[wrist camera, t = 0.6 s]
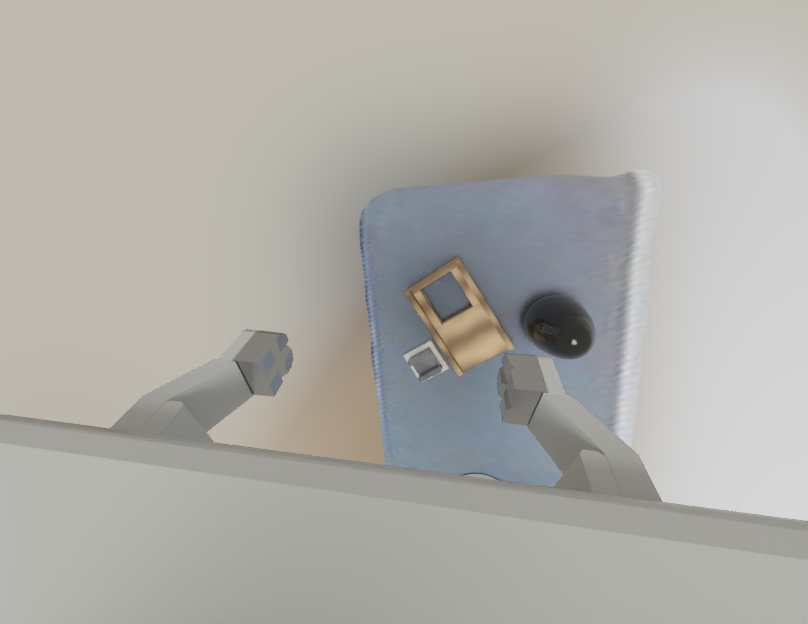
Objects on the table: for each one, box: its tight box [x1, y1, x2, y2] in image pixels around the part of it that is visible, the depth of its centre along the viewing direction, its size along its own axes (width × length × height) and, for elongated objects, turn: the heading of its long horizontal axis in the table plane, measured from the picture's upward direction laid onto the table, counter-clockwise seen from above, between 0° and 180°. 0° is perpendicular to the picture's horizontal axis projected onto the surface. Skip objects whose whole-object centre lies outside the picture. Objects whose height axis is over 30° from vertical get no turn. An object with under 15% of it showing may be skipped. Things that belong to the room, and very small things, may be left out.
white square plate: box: [404, 339, 449, 383], centre depth 62 cm, size 7×7×1 cm
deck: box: [403, 256, 515, 376], centre depth 56 cm, size 20×12×4 cm, turn 34°
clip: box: [407, 347, 442, 382], centre depth 60 cm, size 5×5×2 cm
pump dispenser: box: [524, 295, 595, 359], centre depth 48 cm, size 10×10×15 cm
